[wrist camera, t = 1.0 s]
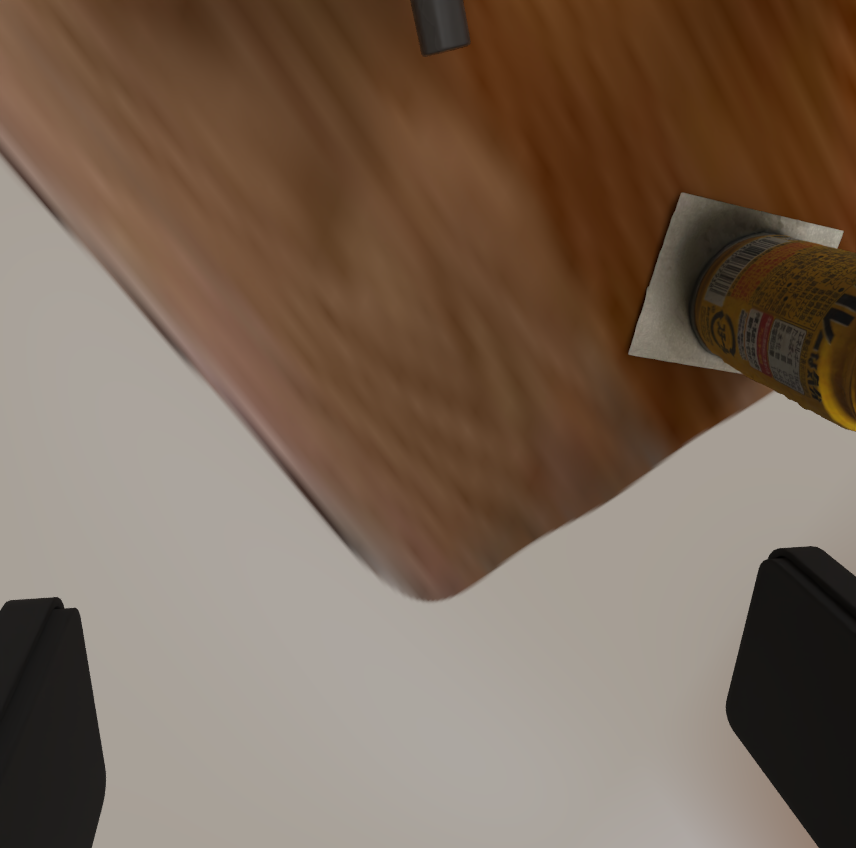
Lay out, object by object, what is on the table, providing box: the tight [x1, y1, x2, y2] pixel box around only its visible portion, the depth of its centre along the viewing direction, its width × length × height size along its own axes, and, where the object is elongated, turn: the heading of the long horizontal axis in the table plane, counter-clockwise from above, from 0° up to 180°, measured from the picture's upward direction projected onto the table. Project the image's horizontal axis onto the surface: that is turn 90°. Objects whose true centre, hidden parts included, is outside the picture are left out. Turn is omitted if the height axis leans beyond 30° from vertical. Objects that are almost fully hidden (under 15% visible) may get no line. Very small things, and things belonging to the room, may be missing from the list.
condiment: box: [628, 193, 856, 431], centre depth 29 cm, size 7×8×12 cm
